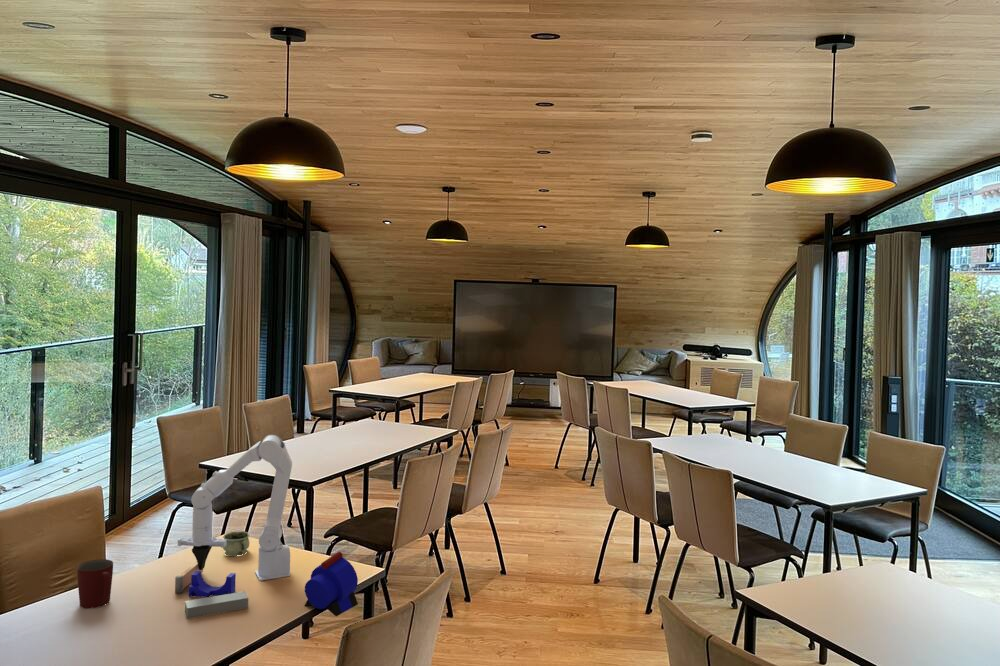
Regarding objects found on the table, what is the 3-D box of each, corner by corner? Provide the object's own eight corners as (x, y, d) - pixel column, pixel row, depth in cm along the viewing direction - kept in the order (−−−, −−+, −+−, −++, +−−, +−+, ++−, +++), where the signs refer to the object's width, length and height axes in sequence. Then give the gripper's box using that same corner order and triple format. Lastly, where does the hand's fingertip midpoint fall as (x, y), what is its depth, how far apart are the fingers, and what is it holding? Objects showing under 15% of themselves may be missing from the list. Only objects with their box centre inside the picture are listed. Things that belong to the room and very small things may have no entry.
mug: (123, 605, 203) (124, 567, 203) (90, 616, 196) (91, 576, 196) (103, 593, 211) (104, 556, 210) (71, 603, 203) (71, 565, 203)
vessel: (257, 554, 247) (257, 536, 246) (233, 561, 240) (234, 542, 240) (238, 545, 254) (238, 528, 254) (214, 551, 247) (215, 533, 247)
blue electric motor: (359, 603, 211) (361, 553, 210) (331, 619, 200) (332, 566, 200) (327, 594, 217) (329, 545, 216) (298, 609, 206) (299, 557, 205)
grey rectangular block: (244, 601, 210) (244, 590, 209) (248, 608, 205) (248, 597, 205) (184, 611, 202) (184, 600, 201) (187, 618, 197) (187, 608, 197)
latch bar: (198, 572, 229) (198, 558, 228) (204, 572, 228) (204, 558, 228) (173, 592, 213) (174, 577, 212) (180, 593, 213) (180, 578, 212)
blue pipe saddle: (188, 596, 211) (189, 576, 211) (195, 590, 216) (196, 570, 216) (228, 599, 211) (229, 579, 211) (235, 592, 215) (235, 573, 215)
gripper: (173, 529, 221) (172, 572, 221) (220, 530, 221) (219, 574, 221) (183, 521, 228) (182, 564, 228) (229, 523, 228) (228, 565, 228)
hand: (201, 568), depth 225 cm, fingers closed
